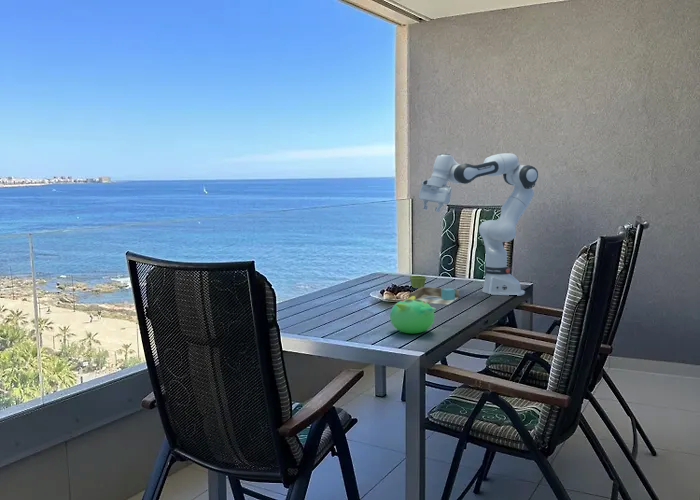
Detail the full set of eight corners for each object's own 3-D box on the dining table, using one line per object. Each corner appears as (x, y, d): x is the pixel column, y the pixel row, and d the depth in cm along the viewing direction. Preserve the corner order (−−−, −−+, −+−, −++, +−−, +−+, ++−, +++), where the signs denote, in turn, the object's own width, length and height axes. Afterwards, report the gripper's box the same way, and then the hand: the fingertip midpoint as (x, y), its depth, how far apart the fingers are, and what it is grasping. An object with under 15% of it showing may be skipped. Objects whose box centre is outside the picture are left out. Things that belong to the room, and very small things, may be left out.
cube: (449, 297, 327) (449, 288, 326) (454, 299, 322) (454, 289, 321) (441, 298, 325) (441, 288, 324) (445, 300, 320) (445, 290, 320)
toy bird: (430, 327, 268) (431, 293, 266) (437, 338, 251) (438, 301, 249) (388, 328, 267) (388, 293, 266) (392, 338, 251) (392, 301, 249)
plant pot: (426, 291, 350) (426, 275, 349) (426, 294, 341) (426, 278, 340) (409, 291, 351) (409, 275, 350) (409, 294, 342) (409, 278, 341)
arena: (459, 299, 328) (459, 289, 328) (448, 306, 310) (448, 296, 310) (422, 296, 336) (422, 286, 336) (409, 303, 318) (409, 293, 318)
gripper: (456, 187, 322) (449, 214, 322) (428, 184, 338) (422, 209, 338) (447, 184, 318) (440, 211, 318) (420, 181, 334) (413, 206, 334)
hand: (430, 210), depth 328 cm, fingers open, 8 cm apart
